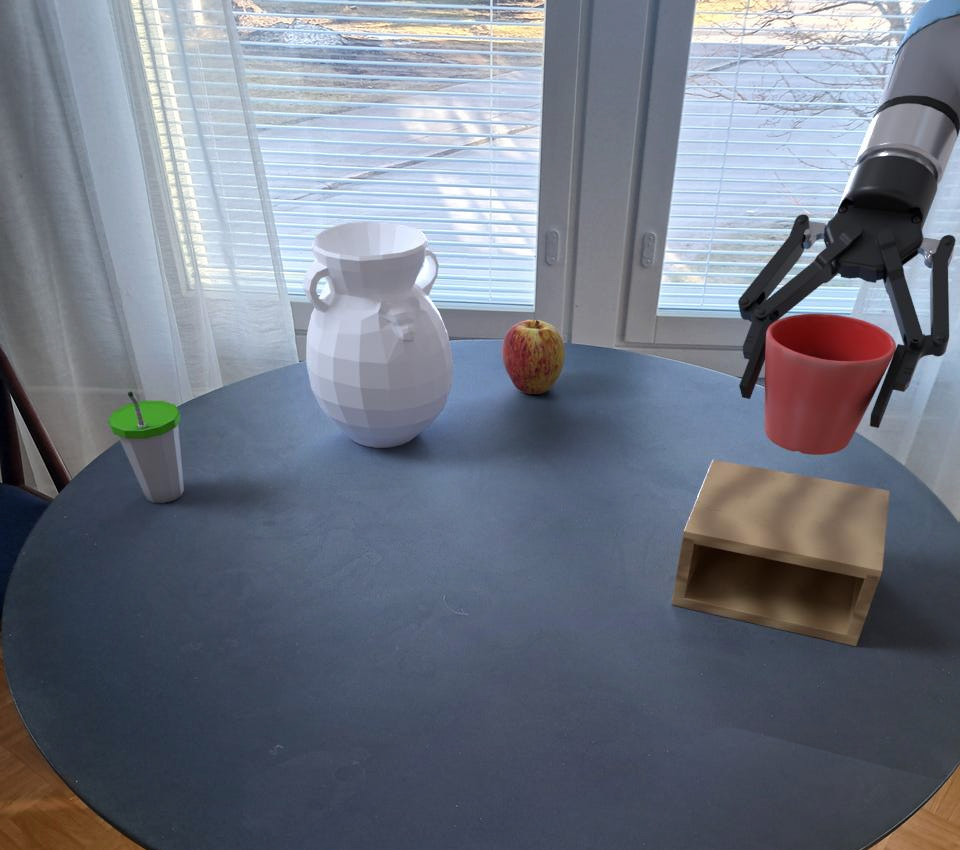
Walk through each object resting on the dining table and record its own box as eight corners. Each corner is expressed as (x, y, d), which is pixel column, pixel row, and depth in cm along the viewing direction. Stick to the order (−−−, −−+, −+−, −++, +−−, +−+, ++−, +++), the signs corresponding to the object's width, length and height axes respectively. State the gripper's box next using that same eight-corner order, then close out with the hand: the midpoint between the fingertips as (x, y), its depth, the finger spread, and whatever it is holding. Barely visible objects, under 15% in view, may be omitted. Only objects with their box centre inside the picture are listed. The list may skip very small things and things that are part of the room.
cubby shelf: (866, 563, 97) (890, 490, 92) (856, 646, 87) (882, 570, 81) (700, 529, 103) (712, 459, 97) (671, 605, 92) (683, 531, 86)
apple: (495, 379, 134) (495, 312, 127) (553, 373, 136) (556, 306, 129) (511, 405, 127) (512, 335, 121) (572, 398, 129) (576, 329, 122)
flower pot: (794, 474, 80) (820, 369, 73) (725, 421, 87) (744, 322, 81) (891, 452, 82) (924, 349, 76) (816, 403, 90) (841, 306, 84)
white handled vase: (350, 480, 111) (327, 272, 95) (295, 421, 124) (266, 229, 108) (480, 443, 119) (479, 244, 103) (415, 391, 131) (406, 206, 115)
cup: (156, 473, 113) (125, 357, 103) (210, 483, 111) (183, 367, 101) (117, 504, 107) (81, 385, 98) (173, 515, 105) (141, 395, 96)
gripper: (1030, 220, 79) (942, 452, 79) (769, 186, 89) (690, 394, 89) (1048, 166, 73) (951, 421, 72) (763, 136, 82) (677, 361, 82)
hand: (807, 406), depth 80 cm, fingers closed on flower pot, 11 cm apart
